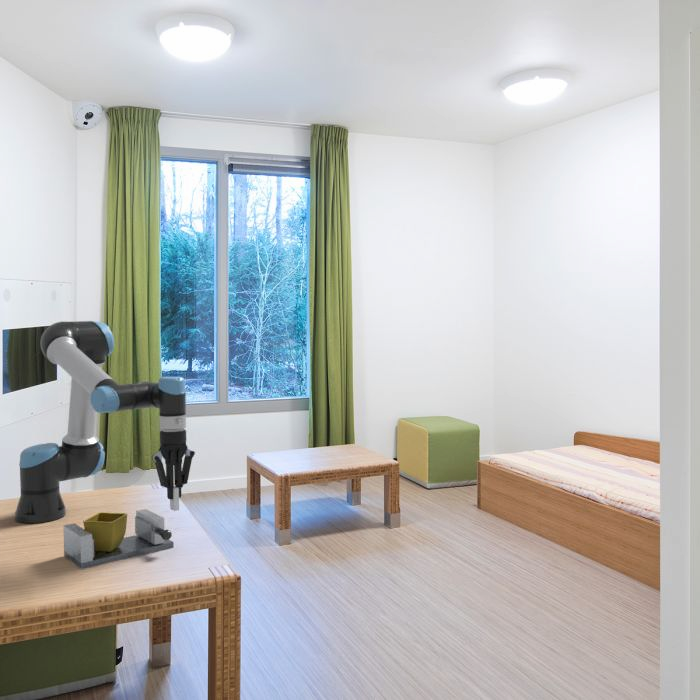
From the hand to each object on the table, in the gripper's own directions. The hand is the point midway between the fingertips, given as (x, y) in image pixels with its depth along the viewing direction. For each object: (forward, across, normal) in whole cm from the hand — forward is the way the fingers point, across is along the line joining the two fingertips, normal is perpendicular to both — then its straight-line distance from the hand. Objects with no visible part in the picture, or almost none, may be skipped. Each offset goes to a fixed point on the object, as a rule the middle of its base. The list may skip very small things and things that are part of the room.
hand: (174, 509), depth 203 cm
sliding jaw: (+7, -8, -3) cm, 11 cm away
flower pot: (+8, -20, +1) cm, 22 cm away
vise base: (+9, -17, 0) cm, 19 cm away
